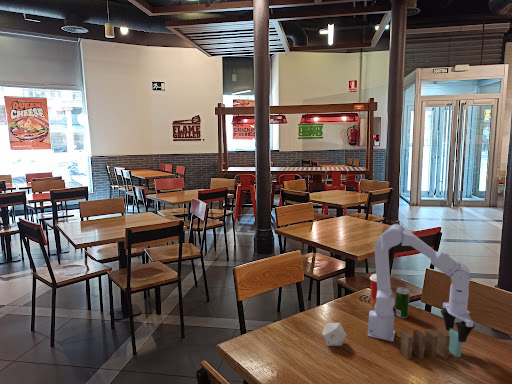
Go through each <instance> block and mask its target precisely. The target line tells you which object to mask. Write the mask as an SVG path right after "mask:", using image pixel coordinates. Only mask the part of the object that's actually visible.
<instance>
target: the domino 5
mask: <svg viewBox="0 0 512 384" xmlns="http://www.w3.org/2000/svg"><path fill="white" fill-rule="evenodd" d="M448 335H449V336H450V343H449V352H450V353H452V355H454V356H455V357H456V358H460V357H462V345H463V342H459V339H458V330H456V328H454V327H453V328H450V330H449V332H448Z"/></svg>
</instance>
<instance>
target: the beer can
mask: <svg viewBox="0 0 512 384" xmlns="http://www.w3.org/2000/svg"><path fill="white" fill-rule="evenodd" d="M394 307H395V308H394V315H395V316H396V317H397V318H399V319H406V318H409V317H408V316H409V309H410V308H409V307H410V290H409V289H408V288H406V287H402V286H398V287H397V288H396V291H395V305H394Z"/></svg>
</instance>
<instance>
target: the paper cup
mask: <svg viewBox="0 0 512 384" xmlns="http://www.w3.org/2000/svg"><path fill="white" fill-rule="evenodd" d="M369 280H370V302H371V303H370V304H371V306H372V307H373V308H374V306H375V304H376V296H377V277H376V273H372V274H371V275H370V277H369Z"/></svg>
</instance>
